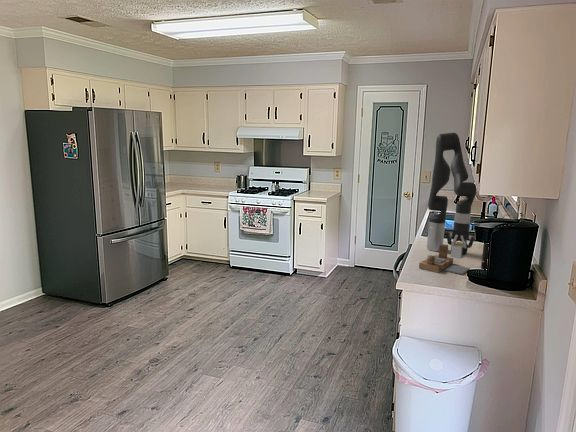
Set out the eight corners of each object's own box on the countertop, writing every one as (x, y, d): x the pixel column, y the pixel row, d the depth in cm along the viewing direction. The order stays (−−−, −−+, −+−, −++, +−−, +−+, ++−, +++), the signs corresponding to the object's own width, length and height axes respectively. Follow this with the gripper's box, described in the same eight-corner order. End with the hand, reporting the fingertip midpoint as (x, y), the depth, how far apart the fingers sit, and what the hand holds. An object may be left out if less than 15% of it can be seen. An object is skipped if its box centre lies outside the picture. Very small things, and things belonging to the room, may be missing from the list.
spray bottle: (477, 267, 229) (482, 221, 224) (496, 268, 228) (502, 222, 224) (485, 273, 219) (490, 225, 214) (505, 274, 218) (511, 226, 214)
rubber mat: (452, 266, 229) (452, 264, 229) (469, 269, 224) (470, 268, 223) (444, 271, 220) (444, 269, 220) (462, 275, 215) (462, 273, 214)
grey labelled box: (456, 254, 225) (457, 241, 224) (465, 256, 222) (467, 242, 221) (450, 257, 219) (452, 243, 218) (460, 259, 216) (462, 245, 215)
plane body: (435, 259, 240) (436, 242, 238) (453, 263, 234) (454, 245, 232) (418, 268, 224) (420, 249, 222) (437, 272, 217) (439, 253, 215)
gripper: (479, 222, 215) (475, 255, 218) (450, 218, 225) (447, 250, 228) (474, 224, 210) (470, 258, 213) (445, 220, 219) (442, 252, 222)
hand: (458, 253), depth 220 cm, fingers closed on grey labelled box, 5 cm apart
